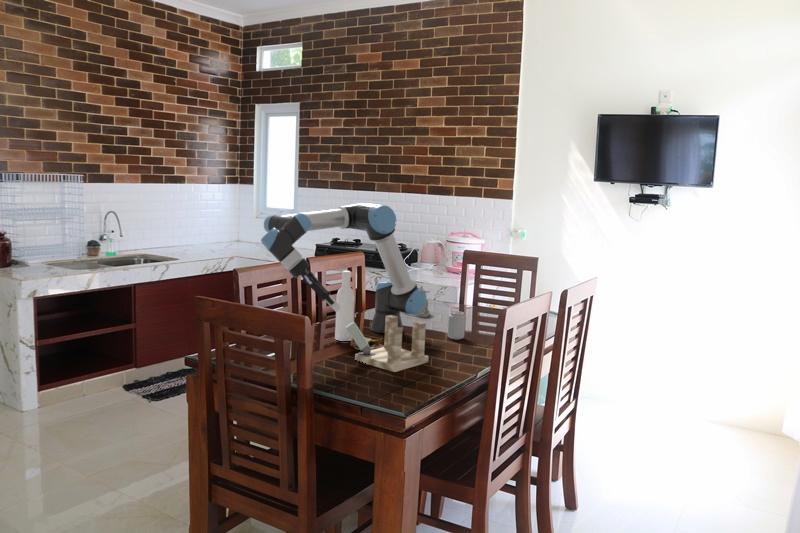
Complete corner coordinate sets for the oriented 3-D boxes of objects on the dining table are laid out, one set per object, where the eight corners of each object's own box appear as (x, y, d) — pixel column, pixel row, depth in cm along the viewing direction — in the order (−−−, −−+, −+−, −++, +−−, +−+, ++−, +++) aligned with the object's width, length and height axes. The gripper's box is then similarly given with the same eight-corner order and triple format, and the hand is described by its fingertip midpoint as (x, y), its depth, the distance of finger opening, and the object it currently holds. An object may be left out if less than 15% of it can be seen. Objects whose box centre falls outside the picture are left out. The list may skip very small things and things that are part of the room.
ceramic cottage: (400, 309, 349) (402, 282, 346) (430, 312, 347) (433, 285, 344) (396, 316, 334) (398, 288, 331) (427, 320, 332) (430, 292, 329)
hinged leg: (364, 356, 244) (346, 328, 242) (364, 353, 247) (346, 325, 245) (372, 351, 244) (353, 323, 242) (372, 349, 247) (353, 321, 245)
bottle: (330, 339, 276) (333, 270, 272) (344, 337, 281) (347, 269, 277) (343, 343, 270) (346, 273, 266) (357, 340, 276) (359, 271, 272)
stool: (354, 360, 245) (356, 320, 243) (389, 351, 261) (391, 314, 259) (394, 372, 233) (396, 330, 231) (428, 362, 248) (430, 322, 246)
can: (463, 340, 285) (464, 314, 283) (446, 339, 286) (447, 312, 285) (464, 337, 292) (466, 311, 291) (448, 335, 294) (450, 309, 292)
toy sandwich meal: (375, 354, 256) (375, 343, 255) (345, 349, 261) (346, 338, 261) (388, 348, 267) (389, 337, 266) (360, 343, 273) (360, 332, 272)
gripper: (289, 268, 245) (331, 312, 249) (286, 273, 232) (331, 319, 236) (304, 255, 245) (346, 299, 249) (301, 259, 232) (346, 306, 236)
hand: (338, 309), depth 242 cm, fingers closed
